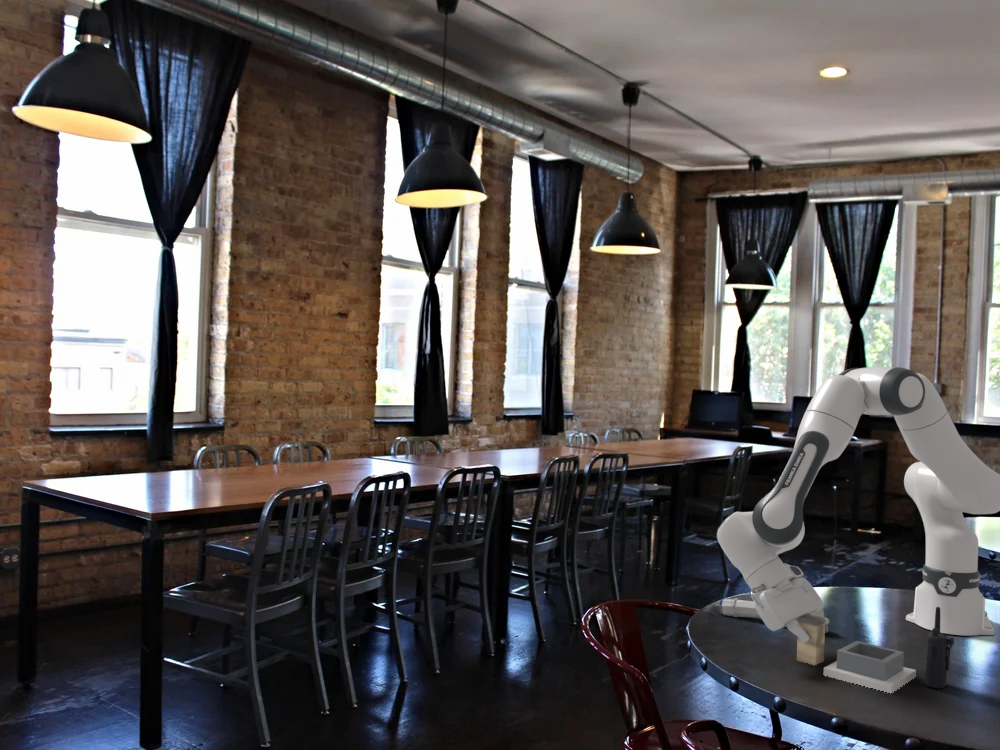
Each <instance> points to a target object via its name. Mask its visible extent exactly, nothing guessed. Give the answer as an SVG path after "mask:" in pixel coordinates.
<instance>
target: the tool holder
mask: <svg viewBox="0 0 1000 750" xmlns="http://www.w3.org/2000/svg"><path fill="white" fill-rule="evenodd" d="M904 657H905V652H904V651H901V650H897V649H892V648H888V647H884V646H881V645H875V644H871V643H867V642H863V641H859V640H855V641H854V642H851V643H849V644H848V645H845V646H843V647H841V648H839V649H838V650H836V660H835V661H834V662H832V663H830V664H829V665H827V666H824V667H823V675H824V677H827V676H828V677H827V678H832V679H834V678H835V679H834V680H839V681H841V680H842V682H845V681H846V682H845V683H849V682H850V683H849V684H852V683H854V684H853V685H856V684H858V685H857V686H859V685H861V686H860V687H863V686H865V687H864V688H867V687H868V689H870V688H873V689H872V690H874V689H876V690H875V691H878V690H880V691H879V692H881V691H884V692H883V693H885V692H887V693H886V694H888V693H890V694H889V695H892V694H894V693H895V692H896V691H898V690H900V689H901V688H902V687H904V686H906V685H907V684H908V682H909V681H910V682H911V680H912V679H913V680H914V678H915V677H916V678H917V670H916V669H914V668H909V667H905V666H904V663H905V661H904V659H905V658H904ZM916 678H915V679H916ZM913 680H912V681H913ZM910 682H909V683H910ZM906 683H907V684H906ZM905 684H906V685H905ZM903 685H904V686H903ZM900 687H901V688H900ZM897 689H898V690H897ZM894 691H895V692H894ZM891 693H892V694H891Z"/></svg>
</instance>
